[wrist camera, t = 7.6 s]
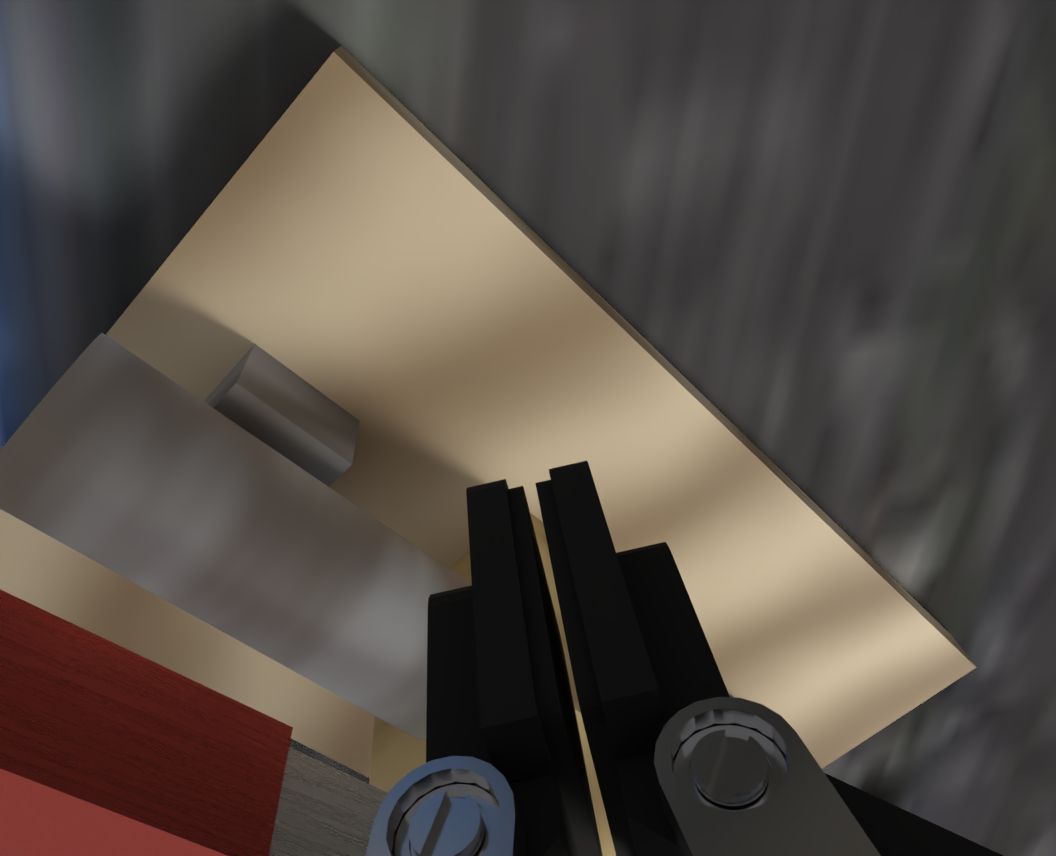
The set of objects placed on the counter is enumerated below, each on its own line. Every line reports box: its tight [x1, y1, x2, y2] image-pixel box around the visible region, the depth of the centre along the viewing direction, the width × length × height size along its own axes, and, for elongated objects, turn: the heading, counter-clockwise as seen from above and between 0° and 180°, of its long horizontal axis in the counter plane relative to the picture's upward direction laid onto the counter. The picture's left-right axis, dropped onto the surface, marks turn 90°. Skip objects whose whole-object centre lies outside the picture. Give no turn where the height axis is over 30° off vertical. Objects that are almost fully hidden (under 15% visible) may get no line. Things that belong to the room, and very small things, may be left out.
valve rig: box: [0, 45, 976, 856], centre depth 20 cm, size 26×16×10 cm, turn 45°
